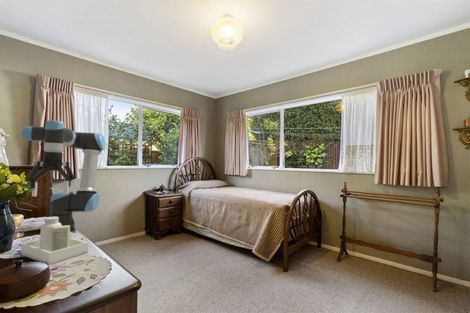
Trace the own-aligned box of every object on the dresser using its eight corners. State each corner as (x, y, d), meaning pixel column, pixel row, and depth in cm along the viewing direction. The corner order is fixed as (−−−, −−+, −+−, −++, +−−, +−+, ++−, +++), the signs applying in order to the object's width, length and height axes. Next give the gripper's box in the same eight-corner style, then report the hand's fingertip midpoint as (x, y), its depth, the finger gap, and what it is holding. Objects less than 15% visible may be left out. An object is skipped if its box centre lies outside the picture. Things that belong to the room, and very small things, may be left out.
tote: (59, 244, 122) (59, 234, 122) (87, 252, 111) (88, 242, 111) (20, 254, 107) (21, 243, 108) (48, 265, 97) (49, 253, 97)
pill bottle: (42, 253, 106) (43, 220, 107) (37, 249, 111) (39, 217, 112) (62, 248, 113) (64, 217, 113) (57, 245, 118) (59, 215, 118)
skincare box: (69, 250, 111) (71, 224, 111) (67, 254, 107) (68, 227, 107) (53, 252, 108) (55, 225, 109) (50, 255, 104) (51, 228, 105)
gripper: (75, 153, 129) (73, 192, 128) (17, 150, 106) (14, 196, 105) (83, 153, 125) (81, 193, 124) (26, 149, 103) (22, 198, 102)
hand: (50, 194), depth 115 cm, fingers open, 13 cm apart
